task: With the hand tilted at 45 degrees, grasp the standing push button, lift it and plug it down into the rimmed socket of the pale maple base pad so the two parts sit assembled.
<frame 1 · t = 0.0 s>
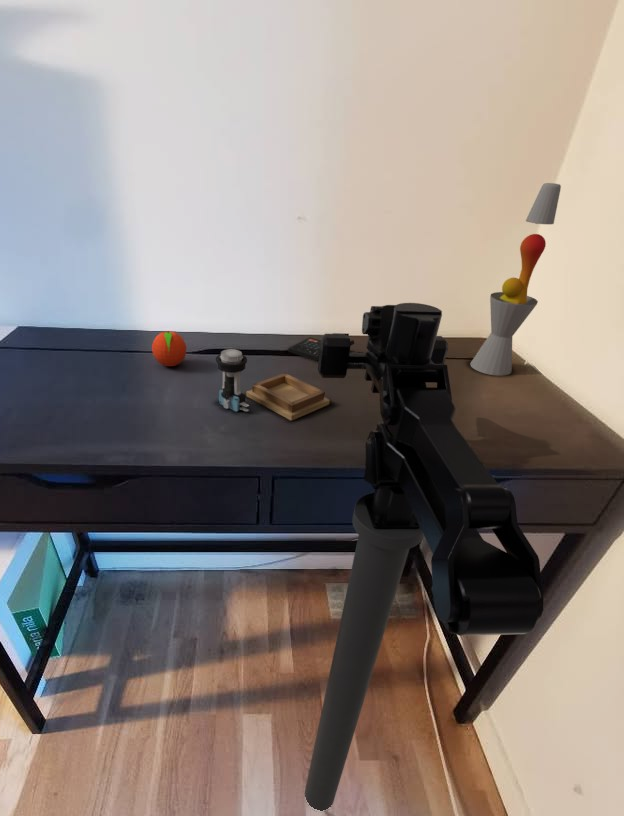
hand: (368, 337, 80), 14 cm above the table, tool horizontal, fingers open, 9 cm apart
base pad: (287, 400, 91), on the table
calculator: (320, 353, 111), on the table
clementine: (170, 366, 102), on the table
push button: (233, 408, 88), on the table
lava lamp: (490, 368, 108), on the table
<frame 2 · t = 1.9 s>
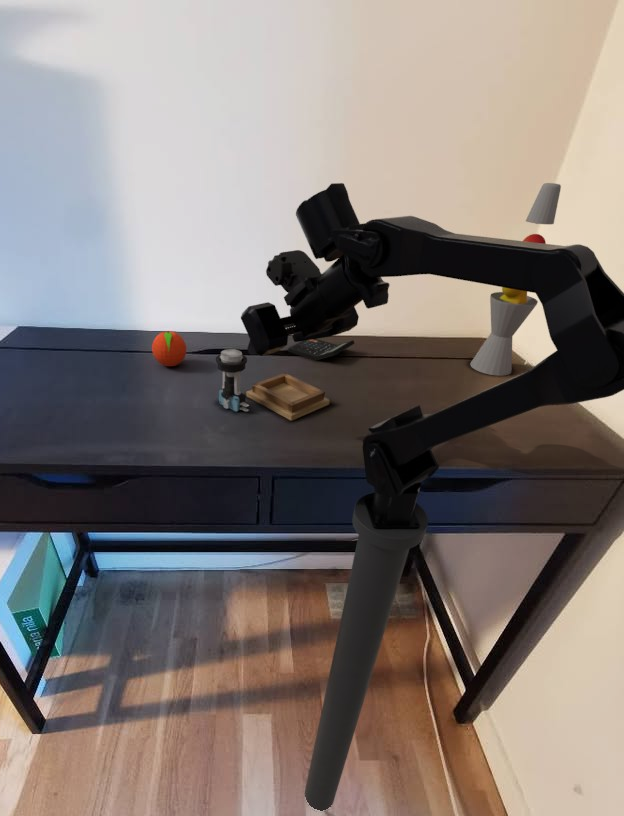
hand: (272, 345, 76), 14 cm above the table, tool tilted 45°, fingers open, 9 cm apart
nothing on the table moved.
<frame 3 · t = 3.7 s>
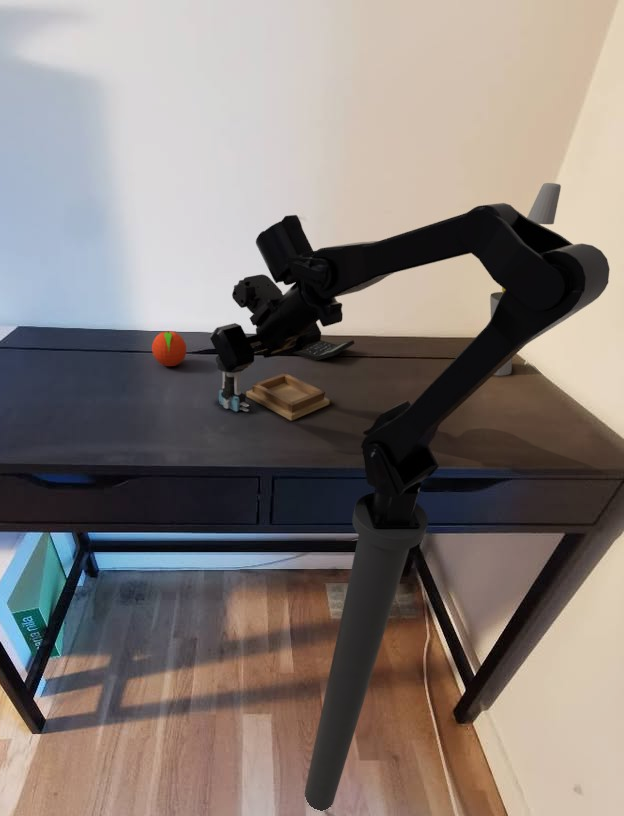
hand: (243, 361, 81), 10 cm above the table, tool tilted 45°, fingers open, 9 cm apart
nothing on the table moved.
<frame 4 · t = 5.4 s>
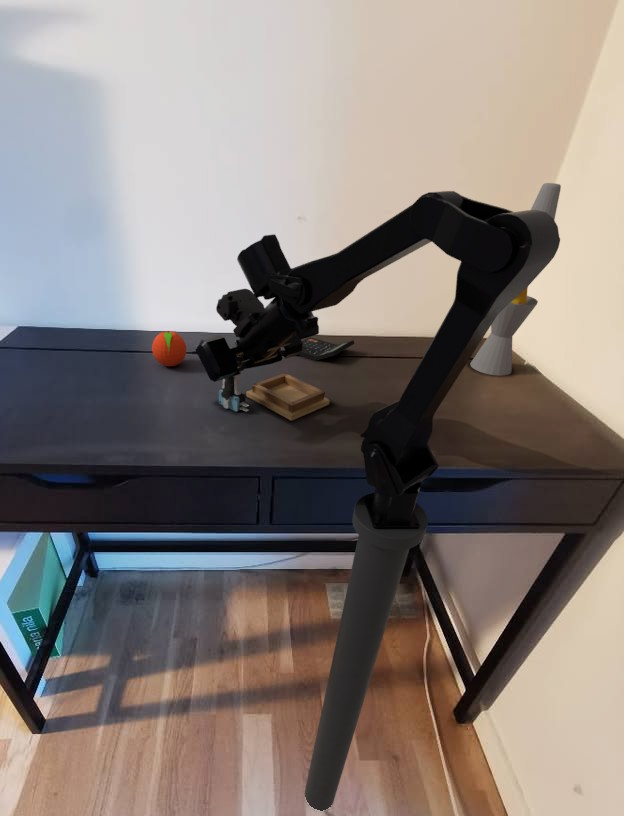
hand: (229, 370, 85), 7 cm above the table, tool tilted 45°, fingers closed on push button, 5 cm apart
push button: (233, 408, 88), on the table, touching gripper
everything else where it was.
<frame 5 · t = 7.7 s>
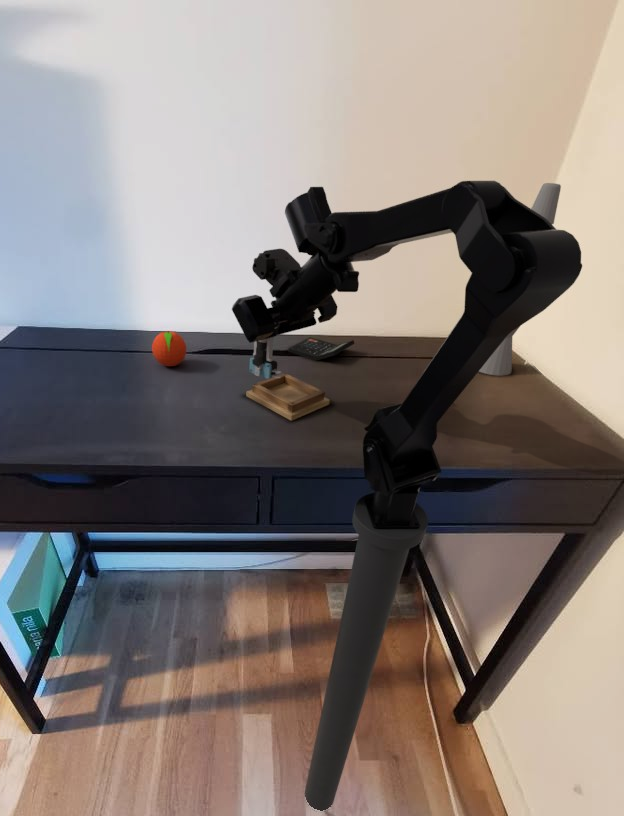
hand: (261, 336, 83), 12 cm above the table, tool tilted 45°, fingers closed on push button, 5 cm apart
push button: (265, 376, 86), point 5 cm above the table, touching gripper
everything else where it was.
when the fingers open (8 cm above the table, at t = 10.2 s): push button stays where it is, resting on base pad.
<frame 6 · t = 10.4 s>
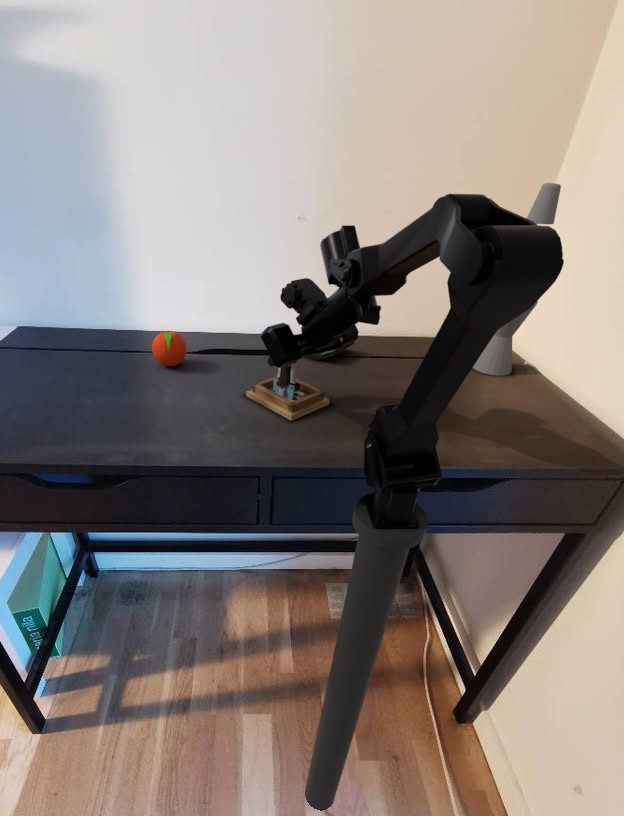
hand: (284, 358, 87), 8 cm above the table, tool tilted 45°, fingers open, 7 cm apart
push button: (288, 396, 91), point 1 cm above the table, touching base pad
everything else where it was.
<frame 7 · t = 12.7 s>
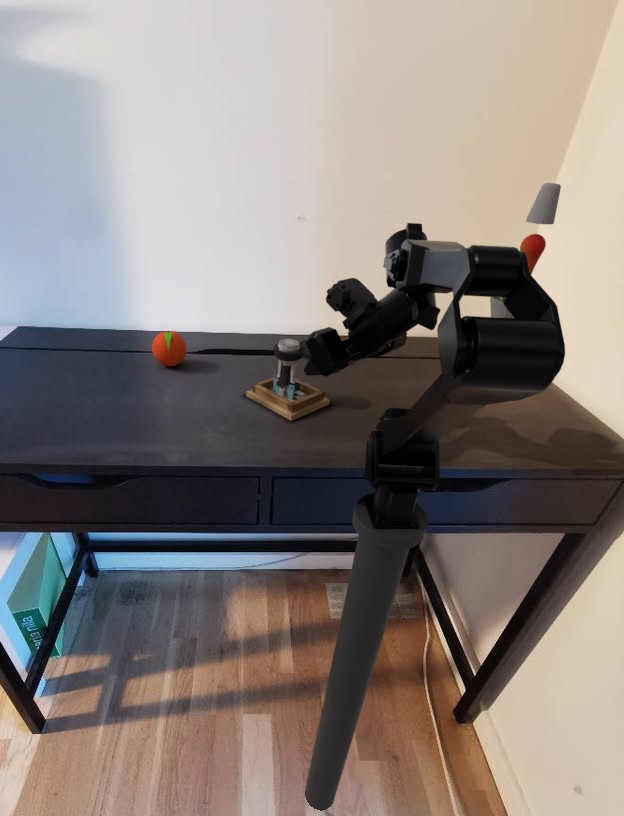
hand: (324, 365, 80), 10 cm above the table, tool tilted 45°, fingers open, 9 cm apart
nothing on the table moved.
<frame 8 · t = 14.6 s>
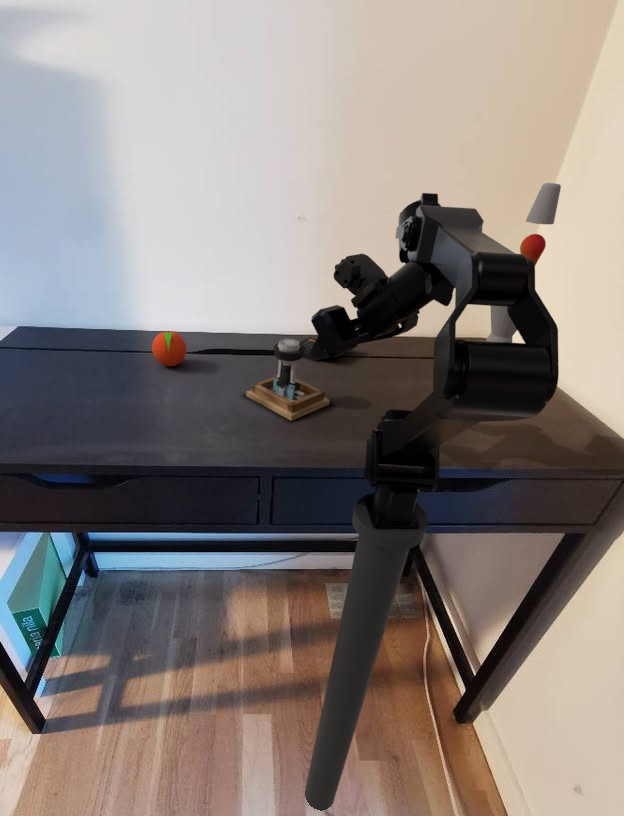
hand: (331, 348, 76), 14 cm above the table, tool tilted 45°, fingers open, 9 cm apart
nothing on the table moved.
at the end: push button 0.2 cm off-centre on the base pad, point 0.8 cm above the base pad's base; push button tilted 0°; the gripper is holding nothing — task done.
